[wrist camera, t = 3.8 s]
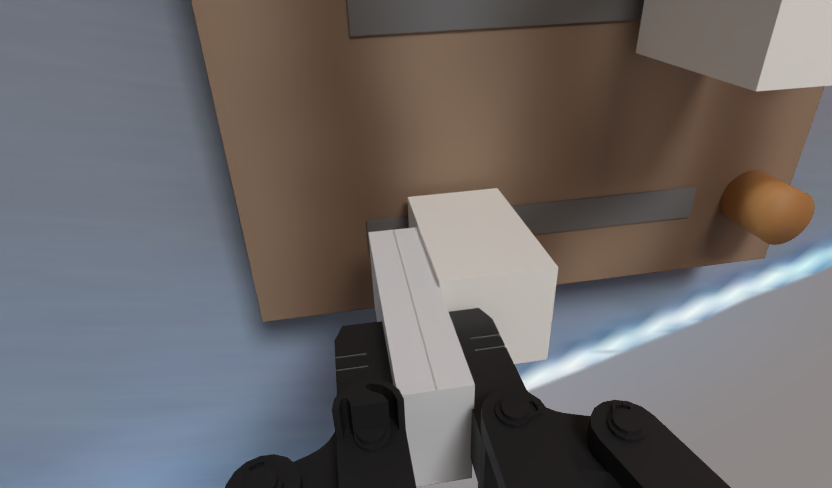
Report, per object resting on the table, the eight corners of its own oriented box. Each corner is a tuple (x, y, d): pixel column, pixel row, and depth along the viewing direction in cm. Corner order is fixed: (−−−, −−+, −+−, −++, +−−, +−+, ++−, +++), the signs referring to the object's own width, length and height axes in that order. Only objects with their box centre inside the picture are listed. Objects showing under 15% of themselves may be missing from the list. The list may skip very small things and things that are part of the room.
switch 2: (635, 52, 16) (755, 91, 11) (655, -62, 14) (801, -67, 10) (725, 46, 16) (874, 82, 12) (753, -66, 15) (935, -72, 10)
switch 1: (410, 275, 18) (440, 374, 14) (407, 196, 17) (439, 281, 13) (493, 265, 19) (547, 359, 14) (497, 187, 17) (558, 267, 13)
